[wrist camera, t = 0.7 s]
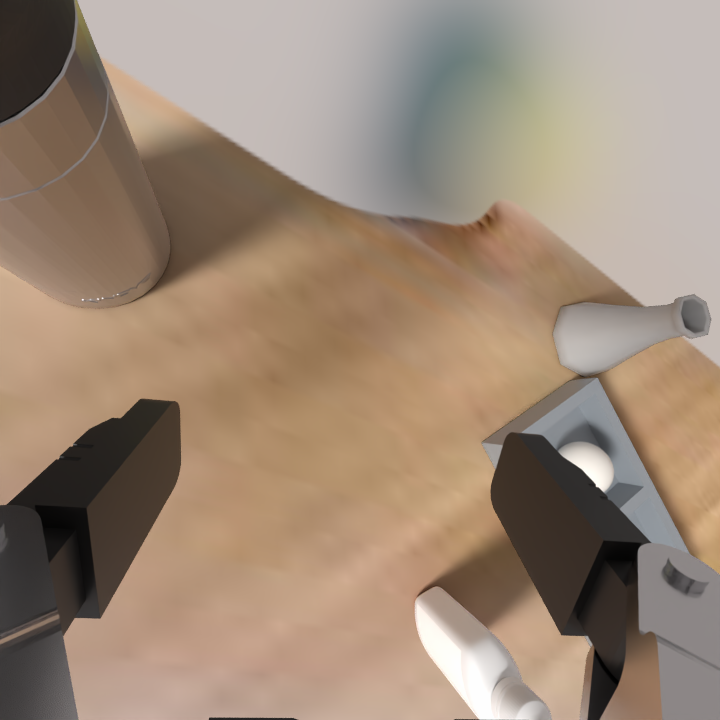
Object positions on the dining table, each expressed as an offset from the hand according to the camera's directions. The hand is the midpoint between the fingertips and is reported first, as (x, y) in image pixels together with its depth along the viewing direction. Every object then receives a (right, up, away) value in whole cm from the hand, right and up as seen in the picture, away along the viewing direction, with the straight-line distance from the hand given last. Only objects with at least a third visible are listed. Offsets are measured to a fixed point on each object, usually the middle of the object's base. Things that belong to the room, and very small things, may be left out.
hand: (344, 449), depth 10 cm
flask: (+21, +4, +28) cm, 36 cm away
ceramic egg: (+18, -7, +25) cm, 32 cm away
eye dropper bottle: (+6, -18, +21) cm, 28 cm away
